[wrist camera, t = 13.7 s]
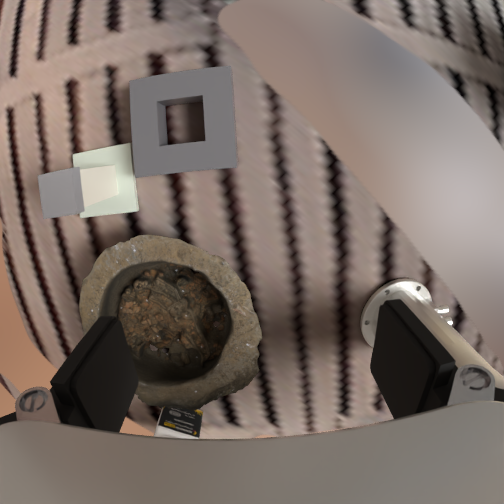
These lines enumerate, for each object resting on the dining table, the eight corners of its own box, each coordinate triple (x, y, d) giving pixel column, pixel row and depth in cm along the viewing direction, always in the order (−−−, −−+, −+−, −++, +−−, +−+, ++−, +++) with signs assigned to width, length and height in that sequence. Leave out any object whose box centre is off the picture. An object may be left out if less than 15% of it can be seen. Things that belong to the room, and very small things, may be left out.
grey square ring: (232, 74, 34) (230, 65, 30) (238, 166, 38) (237, 167, 34) (140, 86, 34) (129, 80, 30) (145, 175, 38) (135, 177, 34)
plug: (117, 162, 36) (71, 167, 25) (120, 196, 38) (77, 214, 27) (87, 167, 36) (37, 175, 25) (91, 200, 38) (43, 219, 27)
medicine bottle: (203, 410, 50) (196, 462, 39) (193, 431, 52) (185, 480, 41) (165, 398, 49) (151, 448, 38) (158, 420, 51) (144, 467, 40)
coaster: (132, 143, 36) (130, 142, 36) (139, 210, 39) (137, 211, 38) (75, 154, 37) (72, 154, 36) (83, 216, 39) (80, 218, 39)
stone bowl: (175, 396, 49) (162, 433, 40) (76, 287, 45) (44, 310, 36) (295, 326, 44) (301, 362, 35) (184, 186, 40) (161, 191, 31)
